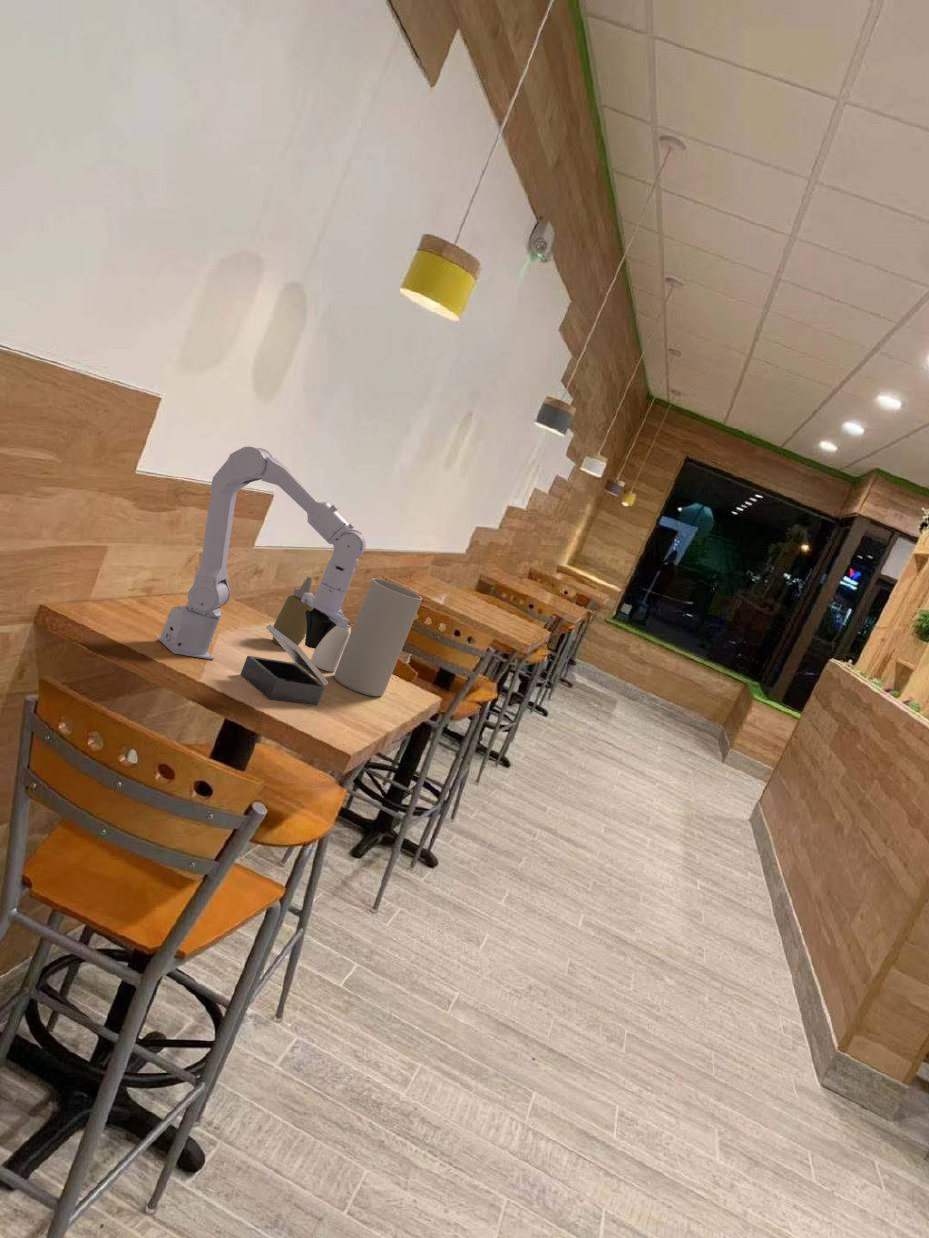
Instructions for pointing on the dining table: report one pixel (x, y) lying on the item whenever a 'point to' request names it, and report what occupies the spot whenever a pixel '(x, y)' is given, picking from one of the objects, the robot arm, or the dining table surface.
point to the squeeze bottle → (294, 614)
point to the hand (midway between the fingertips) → (310, 646)
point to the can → (331, 648)
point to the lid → (297, 654)
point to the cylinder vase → (377, 637)
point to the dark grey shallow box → (282, 681)
